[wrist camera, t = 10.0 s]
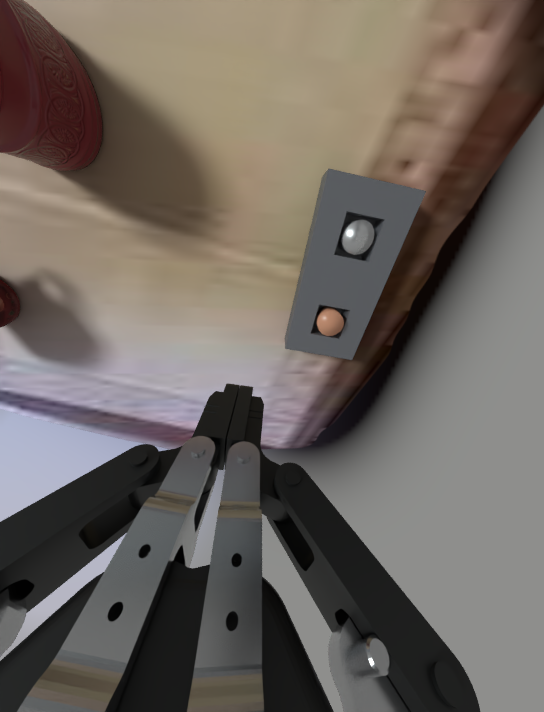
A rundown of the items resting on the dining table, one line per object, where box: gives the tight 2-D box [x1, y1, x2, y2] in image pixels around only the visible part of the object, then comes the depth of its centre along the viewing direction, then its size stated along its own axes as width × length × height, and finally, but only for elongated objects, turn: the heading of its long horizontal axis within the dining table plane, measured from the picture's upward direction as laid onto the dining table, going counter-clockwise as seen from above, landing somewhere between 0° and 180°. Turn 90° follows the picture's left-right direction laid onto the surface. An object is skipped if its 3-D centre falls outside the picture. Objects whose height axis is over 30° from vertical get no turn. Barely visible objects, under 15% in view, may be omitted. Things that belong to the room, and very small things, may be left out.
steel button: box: [338, 220, 374, 255], centre depth 29 cm, size 4×4×3 cm
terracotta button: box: [315, 306, 344, 336], centre depth 34 cm, size 4×4×3 cm
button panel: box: [285, 169, 426, 360], centre depth 32 cm, size 24×12×4 cm, turn 170°
